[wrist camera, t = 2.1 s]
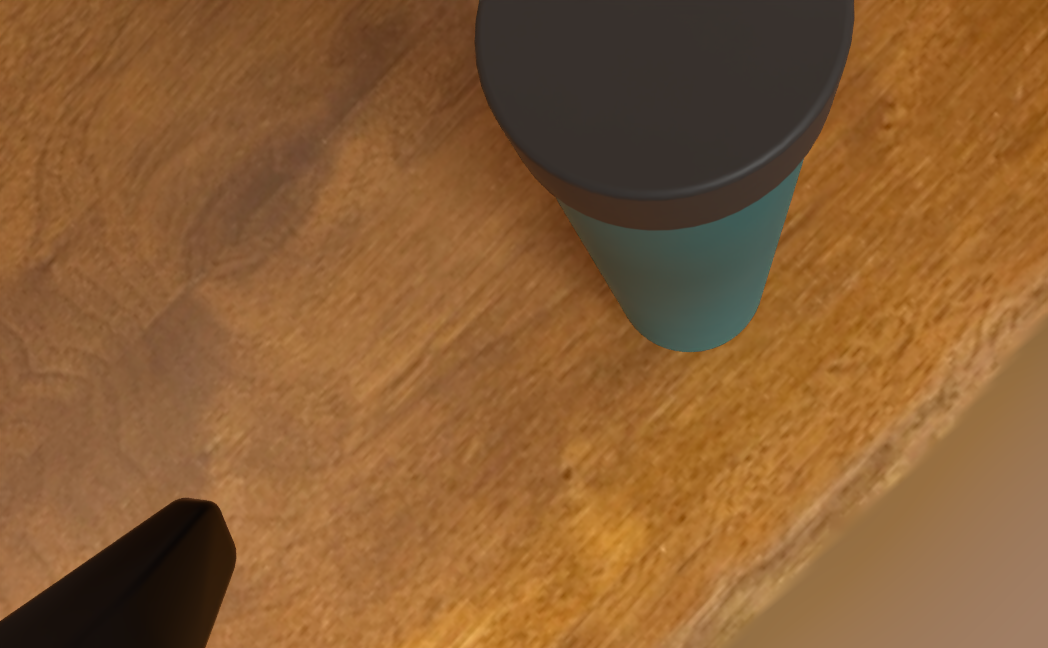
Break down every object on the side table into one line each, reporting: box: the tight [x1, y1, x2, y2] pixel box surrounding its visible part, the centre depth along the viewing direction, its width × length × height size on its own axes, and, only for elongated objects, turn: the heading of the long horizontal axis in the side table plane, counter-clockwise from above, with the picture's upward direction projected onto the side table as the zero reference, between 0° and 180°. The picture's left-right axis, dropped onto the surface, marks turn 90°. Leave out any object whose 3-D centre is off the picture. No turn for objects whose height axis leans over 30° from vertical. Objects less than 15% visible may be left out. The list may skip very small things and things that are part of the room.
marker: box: [475, 0, 854, 352], centre depth 14 cm, size 3×3×14 cm
